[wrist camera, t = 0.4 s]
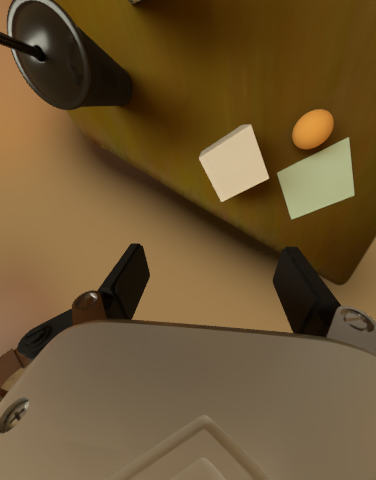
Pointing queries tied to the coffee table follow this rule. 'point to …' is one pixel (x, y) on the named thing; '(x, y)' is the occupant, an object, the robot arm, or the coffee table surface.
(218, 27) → the coffee table surface
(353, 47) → the coffee table surface
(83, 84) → the drinking cup
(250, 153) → the cream matte cube
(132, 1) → the syrup box
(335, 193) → the mark
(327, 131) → the ball
